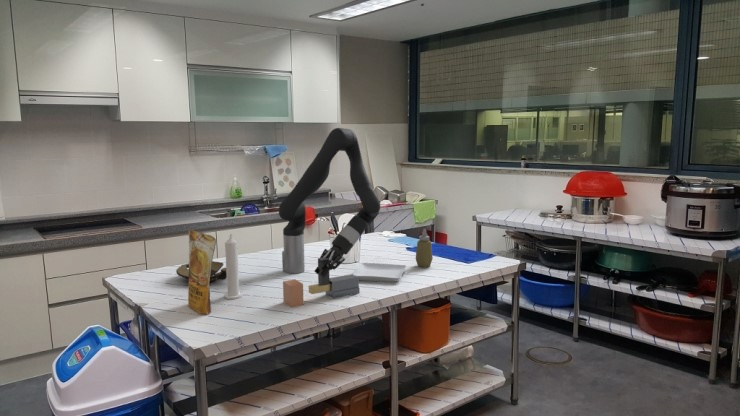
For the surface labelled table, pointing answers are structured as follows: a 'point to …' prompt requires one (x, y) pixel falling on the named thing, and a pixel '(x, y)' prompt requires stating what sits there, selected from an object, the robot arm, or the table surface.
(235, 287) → the candle
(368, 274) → the salad plate
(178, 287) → the table surface
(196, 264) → the pancake mix bag
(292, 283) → the orange brown block
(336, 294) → the sleeve
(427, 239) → the squeeze bottle
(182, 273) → the oil lamp
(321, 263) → the bolt
